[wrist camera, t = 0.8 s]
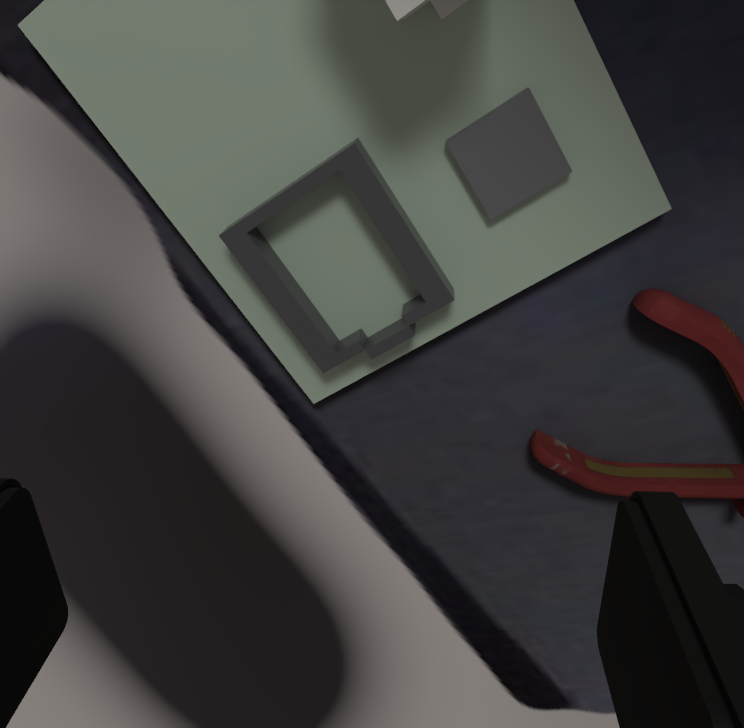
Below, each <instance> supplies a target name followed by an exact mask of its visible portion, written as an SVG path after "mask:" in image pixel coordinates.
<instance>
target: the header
mask: <svg viewBox="0 0 744 728" xmlns="http://www.w3.org/2000/svg"><path fill="white" fill-rule="evenodd" d="M338 171H340V173H341V174H342V176H343V177H344V179H345V180H346V182H347V183H348V185H349V186H350V188H351V189H352V191H353V192H354V194H355V195H356V197H357V198H358V200H359V201H360V203H361V204H362V206H363V207H364V209H365V211H366V212H367V214H368V215H369V217H370V218H371V220H372V221H373V223H374V224H375V226H376V227H377V229H378V230H379V232H380V233H381V235H382V236H383V238H384V239H385V241H386V242H387V244H388V245H389V247H390V249H391V250H392V252H393V253H394V255H395V256H396V258H397V259H398V261H399V262H400V264H401V265H402V267H403V268H404V270H405V271H406V273H407V274H408V276H409V277H410V279H411V280H412V282H413V284H414V285H415V287H416V288H417V290H418V291H419V293H420V295H418V296H417V297H415V298H413V299H411V300H410V301H408V302H406V303H404V304H403V309H402V317H403V318H401V319H399V320H398V321H396V322H394V323H392V324H391V325H389V326H387V327H385V328H383V329H382V330H380V331H378V332H376V333H375V334H373V335H371V336H369V337H367V335H366V334H365V332H364V331H363V330H362V328H361V329H359V330H357V331H356V332H354V333H352V334H350V335H349V336H347V337H345V338H343V339H342V340H339V339H338V337H337V336H336V335H335V333H334V332H333V331H332V329H331V328H330V326H329V325H328V324H327V322H326V321H325V320H324V318H323V317H322V316H321V314H320V313H319V311H318V310H317V309H316V307H315V306H314V305H313V303H312V302H311V300H310V299H309V298H308V296H307V295H306V294H305V292H304V291H303V290H302V288H301V287H300V285H299V284H298V283H297V281H296V280H295V279H294V277H293V276H292V275H291V273H290V272H289V270H288V269H287V268H286V266H285V265H284V264H283V262H282V261H281V259H280V258H279V257H278V255H277V254H276V253H275V251H274V250H273V249H272V247H271V246H270V244H269V243H268V242H267V240H266V239H265V238H264V236H263V235H262V234H261V232H260V231H259V229H258V228H257V227H256V226H258V225H259V224H261V223H262V222H264V221H265V220H267V219H268V218H270V217H271V216H273V215H274V214H276V213H277V212H279V211H280V210H282V209H283V208H285V207H286V206H288V205H289V204H291V203H292V202H294V201H295V200H297V199H298V198H300V197H301V196H303V195H304V194H306V193H307V192H309V191H310V190H311V189H313V188H314V187H316V186H317V185H319V184H320V183H322V182H323V181H325V180H326V179H328V178H329V177H331V176H332V175H334V174H335V173H337V172H338ZM219 237H220V238H221V240H222V241H223V242H224V243H225V245H226V246H227V247H228V249H229V250H230V251H231V253H232V254H233V255H234V257H235V258H236V259H237V261H238V262H239V263H240V265H241V266H242V267H243V268H244V270H245V271H246V272H247V274H248V275H249V276H250V278H251V279H252V280H253V282H254V283H255V284H256V286H257V287H258V288H259V290H260V291H261V292H262V294H263V295H264V296H265V297H266V299H267V300H268V301H269V303H270V304H271V305H272V307H273V308H274V309H275V311H276V312H277V313H278V315H279V316H280V317H281V319H282V320H283V321H284V323H285V324H286V325H287V326H288V328H289V329H290V330H291V332H292V333H293V334H294V336H295V337H296V338H297V340H298V341H299V342H300V344H301V345H302V346H303V348H304V349H305V350H306V351H307V353H308V354H309V355H310V357H311V358H312V359H313V361H314V362H315V363H316V365H317V366H318V367H319V369H320V370H321V371H322V373H323V374H324V373H325V372H327V371H329V370H331V369H333V368H334V367H336V366H338V365H340V364H341V363H343V362H345V361H347V360H349V359H350V358H352V357H354V356H356V355H358V354H359V353H361V352H363V351H366V352H367V353H368V355H369V356H370V357H371V359H374V358H376V357H377V356H379V355H381V354H383V353H385V352H386V351H388V350H390V349H392V348H394V347H396V346H397V345H399V344H401V343H403V342H405V341H406V340H408V339H410V338H412V337H414V336H415V328H416V323H415V322H417V321H418V320H420V319H422V318H424V317H425V316H427V315H429V314H431V313H433V312H434V311H436V310H438V309H440V308H442V307H443V306H445V305H447V304H449V303H451V302H452V301H454V300H455V298H454V288H453V286H452V285H451V283H450V282H449V280H448V279H447V277H446V275H445V274H444V272H443V271H442V269H441V268H440V266H439V264H438V263H437V261H436V260H435V258H434V257H433V255H432V253H431V252H430V250H429V249H428V247H427V245H426V244H425V242H424V241H423V239H422V238H421V236H420V234H419V233H418V231H417V230H416V228H415V227H414V225H413V223H412V222H411V220H410V219H409V217H408V216H407V214H406V212H405V211H404V209H403V208H402V206H401V204H400V203H399V201H398V200H397V198H396V197H395V195H394V193H393V192H392V190H391V189H390V187H389V186H388V184H387V182H386V181H385V179H384V178H383V176H382V175H381V173H380V171H379V170H378V168H377V167H376V165H375V163H374V162H373V160H372V159H371V157H370V156H369V154H368V152H367V151H366V149H365V148H364V146H363V145H362V143H361V141H360V140H359V138H357V139H355V140H354V141H352V142H351V143H349V144H348V145H346V146H345V147H343V148H342V149H340V150H339V151H337V152H336V153H335V154H333V155H332V156H330V157H329V158H327V159H326V160H324V161H323V162H321V163H320V164H318V165H317V166H316V167H314V168H313V169H311V170H310V171H308V172H307V173H305V174H304V175H302V176H301V177H299V178H298V179H297V180H295V181H294V182H292V183H291V184H289V185H288V186H286V187H285V188H283V189H282V190H280V191H279V192H277V193H276V194H275V195H273V196H272V197H270V198H269V199H267V200H266V201H264V202H263V203H261V204H260V205H258V206H257V207H256V208H254V209H253V210H251V211H250V212H248V213H247V214H245V215H244V216H242V217H241V218H239V219H238V220H237V221H235V222H234V223H232V224H231V225H229V226H228V227H227V228H226V229H225V230H224V231H223V232H222V233H221V234H220V235H219Z"/></svg>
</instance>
